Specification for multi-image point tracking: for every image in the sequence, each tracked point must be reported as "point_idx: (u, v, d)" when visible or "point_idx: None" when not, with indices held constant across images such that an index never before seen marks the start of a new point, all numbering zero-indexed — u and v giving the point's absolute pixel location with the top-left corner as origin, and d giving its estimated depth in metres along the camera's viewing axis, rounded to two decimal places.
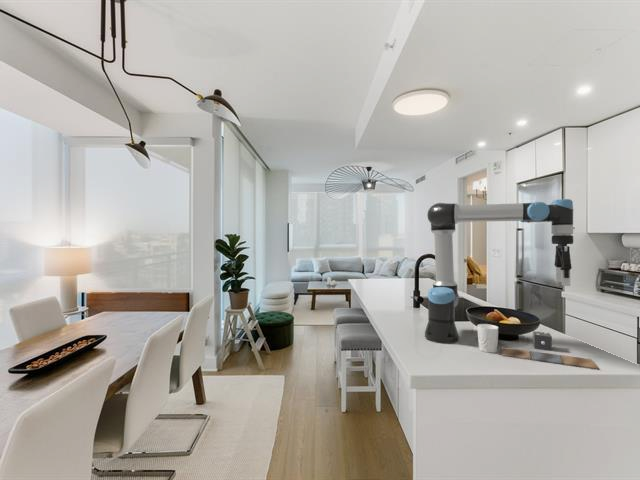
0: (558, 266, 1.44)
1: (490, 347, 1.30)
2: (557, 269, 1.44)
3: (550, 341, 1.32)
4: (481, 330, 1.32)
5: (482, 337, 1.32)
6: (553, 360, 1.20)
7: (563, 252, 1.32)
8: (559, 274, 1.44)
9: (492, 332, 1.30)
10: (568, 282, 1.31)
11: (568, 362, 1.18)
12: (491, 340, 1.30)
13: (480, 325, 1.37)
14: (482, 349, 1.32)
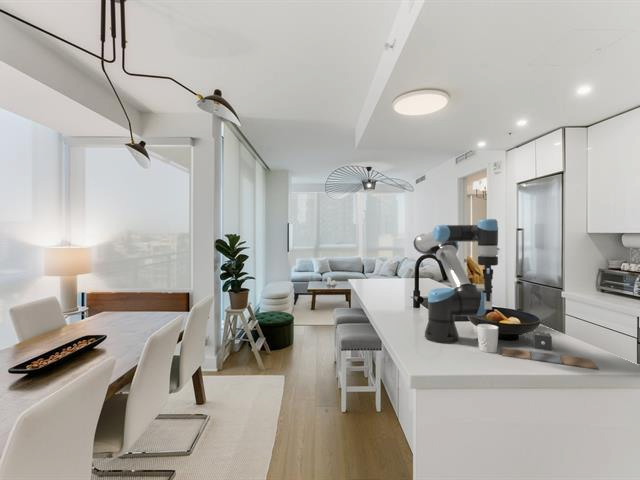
0: None
1: (490, 347, 1.30)
2: None
3: (550, 341, 1.32)
4: (481, 330, 1.32)
5: (482, 337, 1.32)
6: (553, 360, 1.20)
7: (485, 274, 1.28)
8: None
9: (492, 332, 1.30)
10: (490, 305, 1.27)
11: (568, 362, 1.18)
12: (491, 340, 1.30)
13: (480, 325, 1.37)
14: (482, 349, 1.32)
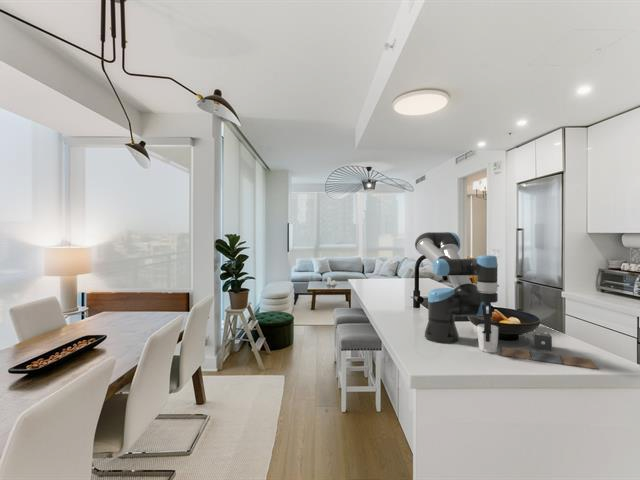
0: None
1: None
2: None
3: (550, 341, 1.32)
4: (481, 330, 1.32)
5: (482, 337, 1.32)
6: (553, 360, 1.20)
7: (485, 315, 1.28)
8: None
9: (492, 332, 1.30)
10: (489, 346, 1.29)
11: (568, 362, 1.18)
12: (491, 340, 1.30)
13: (480, 325, 1.37)
14: (482, 349, 1.32)
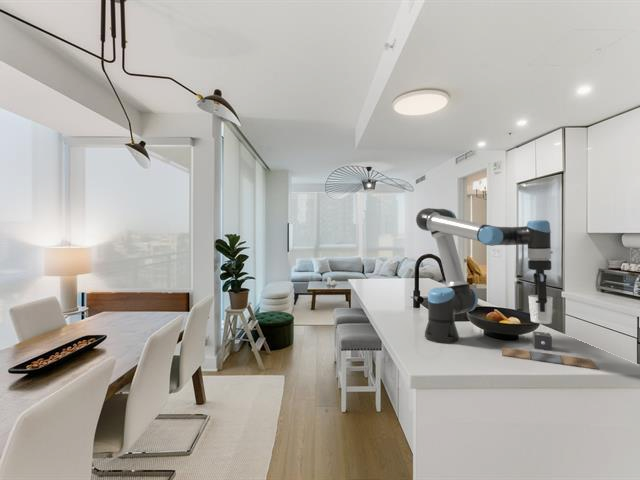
0: None
1: None
2: None
3: (550, 341, 1.32)
4: (534, 299, 1.23)
5: (535, 307, 1.23)
6: (553, 360, 1.20)
7: (539, 283, 1.19)
8: None
9: None
10: (544, 316, 1.20)
11: (568, 362, 1.18)
12: None
13: (531, 296, 1.28)
14: (535, 320, 1.23)
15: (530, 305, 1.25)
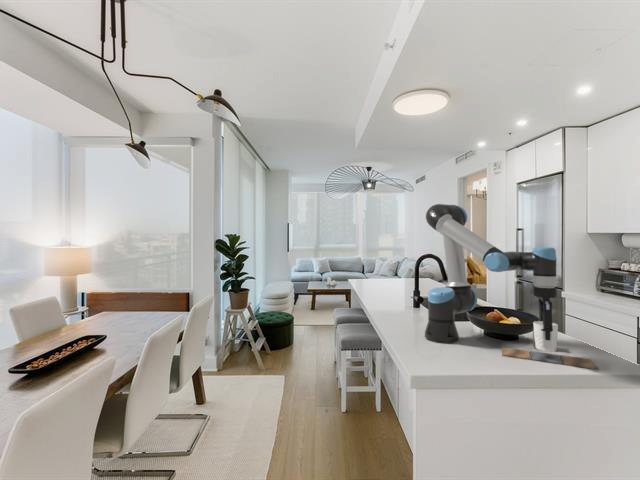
0: None
1: None
2: None
3: None
4: (539, 327, 1.22)
5: (540, 335, 1.22)
6: (553, 360, 1.20)
7: (545, 311, 1.19)
8: None
9: None
10: (550, 344, 1.20)
11: (568, 362, 1.18)
12: None
13: (536, 322, 1.28)
14: (540, 348, 1.23)
15: (535, 332, 1.24)
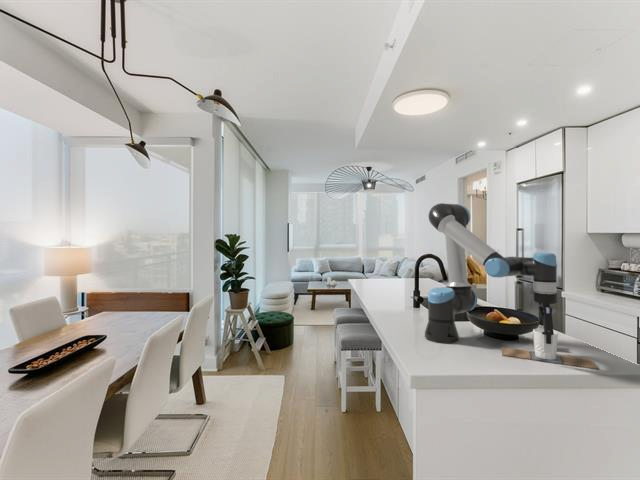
0: (542, 324, 1.31)
1: (549, 354, 1.21)
2: (540, 327, 1.30)
3: None
4: (539, 335, 1.22)
5: (540, 343, 1.22)
6: (553, 360, 1.20)
7: (545, 314, 1.18)
8: None
9: None
10: (550, 348, 1.17)
11: (568, 362, 1.18)
12: None
13: (535, 330, 1.28)
14: (540, 356, 1.23)
15: (535, 340, 1.24)
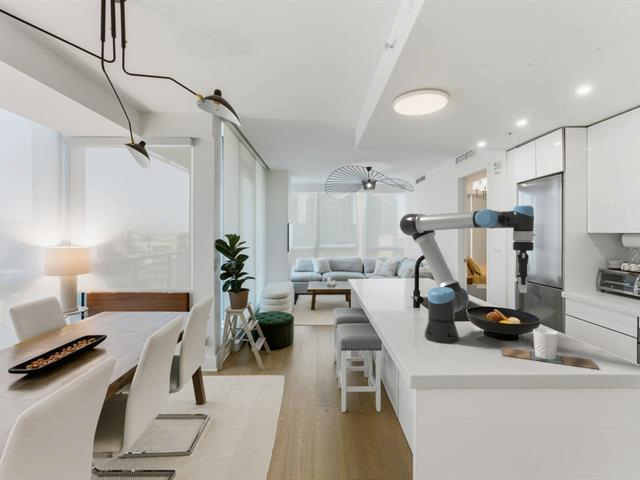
0: None
1: (549, 354, 1.21)
2: None
3: None
4: (539, 335, 1.22)
5: (540, 343, 1.22)
6: (553, 360, 1.20)
7: (521, 259, 1.32)
8: None
9: (551, 337, 1.20)
10: (525, 289, 1.31)
11: (568, 362, 1.18)
12: (551, 346, 1.20)
13: (536, 330, 1.27)
14: (540, 356, 1.23)
15: (535, 340, 1.24)
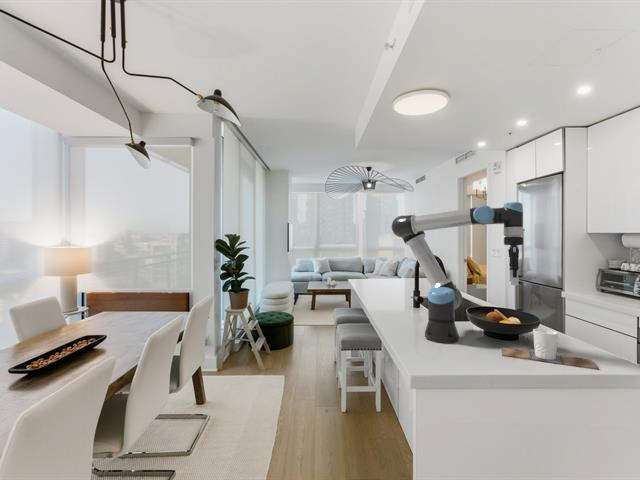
0: None
1: (549, 354, 1.21)
2: None
3: None
4: (539, 335, 1.22)
5: (540, 343, 1.22)
6: (553, 360, 1.20)
7: (512, 253, 1.39)
8: None
9: (551, 337, 1.20)
10: (516, 281, 1.38)
11: (568, 362, 1.18)
12: (551, 346, 1.20)
13: (535, 330, 1.28)
14: (540, 356, 1.23)
15: (535, 340, 1.24)
